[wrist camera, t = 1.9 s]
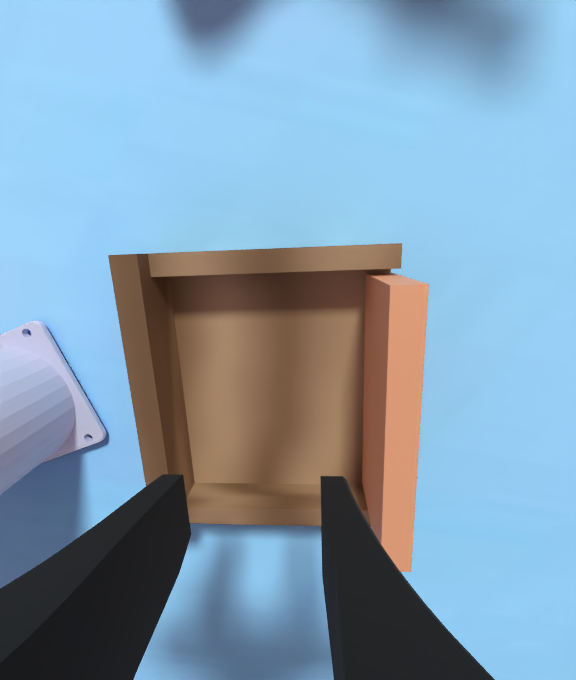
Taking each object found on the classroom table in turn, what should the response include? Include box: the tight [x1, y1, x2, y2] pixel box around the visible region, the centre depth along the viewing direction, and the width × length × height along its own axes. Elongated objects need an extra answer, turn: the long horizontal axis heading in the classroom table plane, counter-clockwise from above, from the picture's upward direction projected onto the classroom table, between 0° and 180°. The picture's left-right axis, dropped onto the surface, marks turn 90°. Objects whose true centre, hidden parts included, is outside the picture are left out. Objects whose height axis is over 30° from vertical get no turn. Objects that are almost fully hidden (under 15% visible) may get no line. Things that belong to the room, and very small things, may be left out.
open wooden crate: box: [108, 243, 402, 527], centre depth 18 cm, size 12×14×4 cm
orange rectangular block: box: [362, 273, 429, 572], centre depth 15 cm, size 1×11×6 cm, turn 2°
